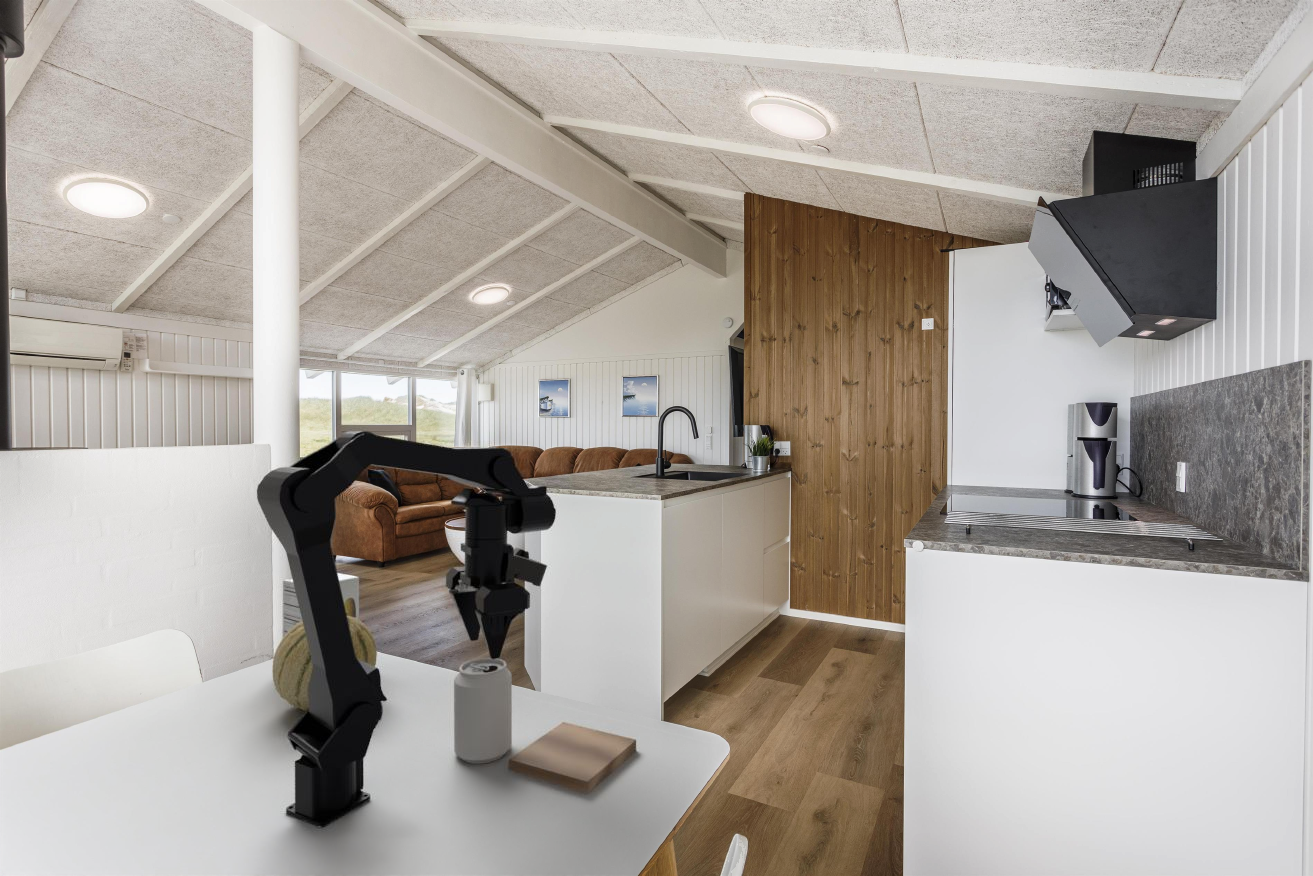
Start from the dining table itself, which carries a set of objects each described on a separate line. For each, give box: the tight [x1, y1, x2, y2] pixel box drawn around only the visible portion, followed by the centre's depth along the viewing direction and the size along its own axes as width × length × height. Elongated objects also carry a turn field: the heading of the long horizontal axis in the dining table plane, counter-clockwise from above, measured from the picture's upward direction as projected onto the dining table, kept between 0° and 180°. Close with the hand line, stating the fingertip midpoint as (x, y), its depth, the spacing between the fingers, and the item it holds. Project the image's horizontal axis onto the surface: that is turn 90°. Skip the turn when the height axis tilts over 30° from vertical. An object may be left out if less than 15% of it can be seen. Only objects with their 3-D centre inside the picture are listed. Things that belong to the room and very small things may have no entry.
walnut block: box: [508, 721, 637, 795], centre depth 87 cm, size 12×12×2 cm
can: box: [453, 657, 513, 764], centre depth 89 cm, size 8×8×12 cm
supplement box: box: [282, 572, 360, 638], centre depth 119 cm, size 10×9×17 cm
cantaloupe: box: [271, 611, 378, 712], centre depth 103 cm, size 15×15×15 cm
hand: (484, 649), depth 92 cm, fingers open, 9 cm apart
